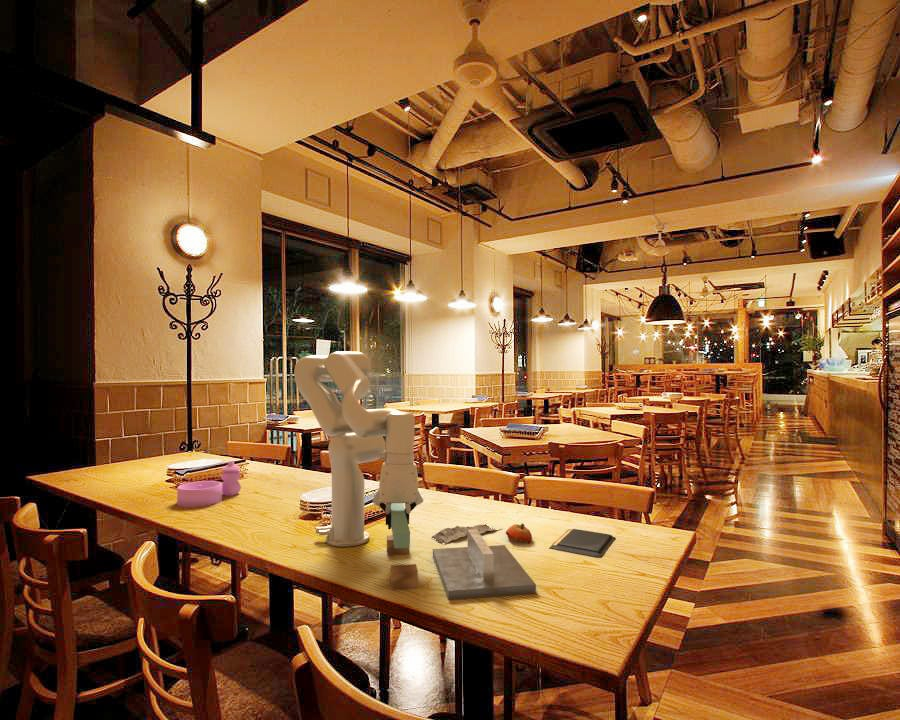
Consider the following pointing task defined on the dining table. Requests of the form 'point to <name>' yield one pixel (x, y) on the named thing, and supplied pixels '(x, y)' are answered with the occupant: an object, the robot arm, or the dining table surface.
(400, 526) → the teal batten
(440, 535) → the stone fragment
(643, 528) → the dining table surface
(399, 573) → the batten rest
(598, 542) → the dark grey flat block
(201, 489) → the container set
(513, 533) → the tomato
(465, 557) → the ridge stand
